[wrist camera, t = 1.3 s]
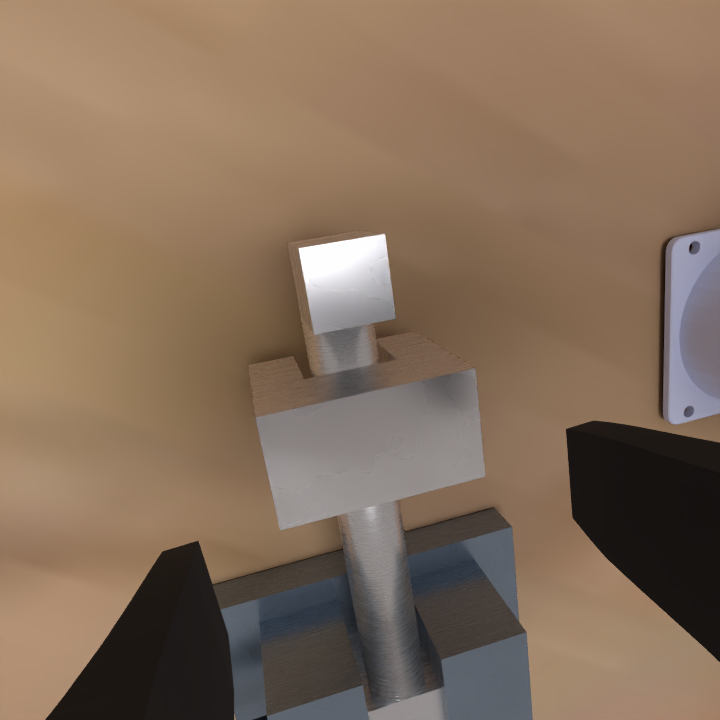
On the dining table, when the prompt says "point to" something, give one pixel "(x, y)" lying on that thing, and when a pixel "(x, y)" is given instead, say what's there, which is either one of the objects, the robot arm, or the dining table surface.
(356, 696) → the vise
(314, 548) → the dining table surface
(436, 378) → the notched block
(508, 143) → the dining table surface
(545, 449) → the dining table surface
